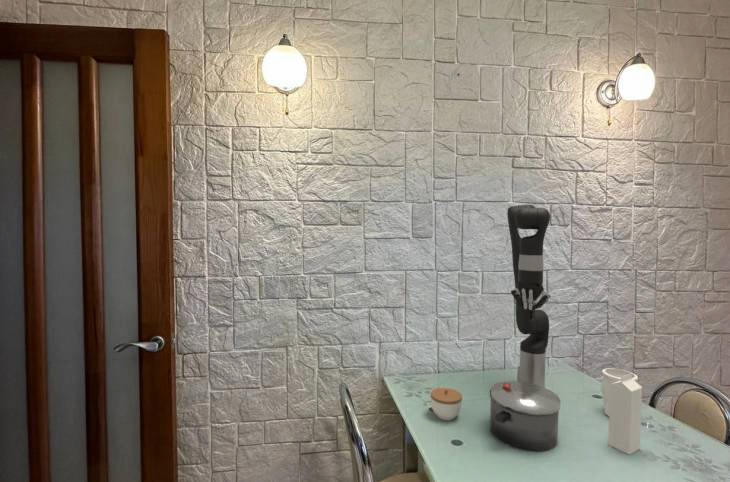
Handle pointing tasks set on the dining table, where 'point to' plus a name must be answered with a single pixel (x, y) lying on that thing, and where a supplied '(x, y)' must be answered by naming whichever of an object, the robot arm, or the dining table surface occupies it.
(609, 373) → the jar
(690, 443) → the dining table surface
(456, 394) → the lidded jar
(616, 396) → the milk
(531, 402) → the lid
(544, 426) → the cooker pot
